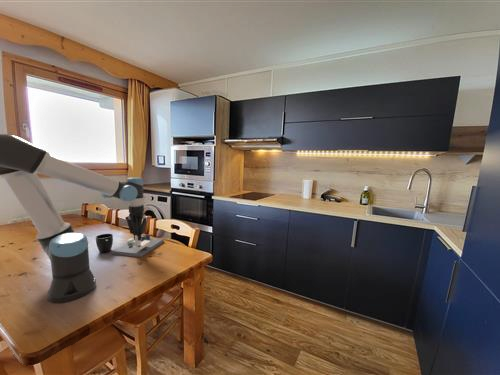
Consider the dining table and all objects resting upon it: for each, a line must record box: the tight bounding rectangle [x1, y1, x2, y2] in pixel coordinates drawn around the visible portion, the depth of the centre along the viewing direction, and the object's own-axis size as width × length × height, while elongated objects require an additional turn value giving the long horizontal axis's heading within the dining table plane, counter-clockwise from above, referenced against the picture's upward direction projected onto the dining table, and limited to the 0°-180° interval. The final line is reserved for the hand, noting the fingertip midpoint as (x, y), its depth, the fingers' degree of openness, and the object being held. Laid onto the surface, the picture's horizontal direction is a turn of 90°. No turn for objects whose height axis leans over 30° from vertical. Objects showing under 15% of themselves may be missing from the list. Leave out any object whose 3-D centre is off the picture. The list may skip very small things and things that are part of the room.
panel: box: [112, 234, 165, 258], centre depth 129 cm, size 23×18×5 cm
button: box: [126, 237, 135, 245], centre depth 130 cm, size 4×4×2 cm
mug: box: [95, 233, 114, 254], centre depth 122 cm, size 8×12×10 cm
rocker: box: [133, 240, 151, 250], centre depth 122 cm, size 10×4×2 cm, turn 171°
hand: (138, 245), depth 119 cm, fingers closed
